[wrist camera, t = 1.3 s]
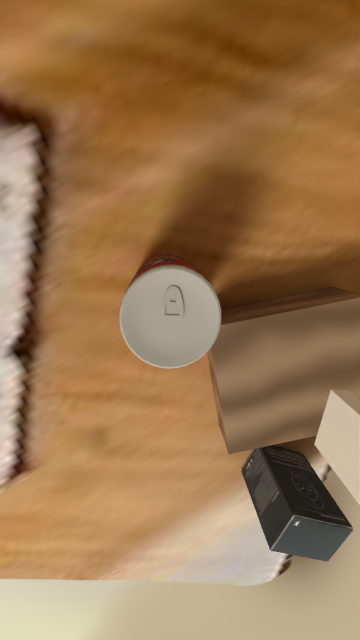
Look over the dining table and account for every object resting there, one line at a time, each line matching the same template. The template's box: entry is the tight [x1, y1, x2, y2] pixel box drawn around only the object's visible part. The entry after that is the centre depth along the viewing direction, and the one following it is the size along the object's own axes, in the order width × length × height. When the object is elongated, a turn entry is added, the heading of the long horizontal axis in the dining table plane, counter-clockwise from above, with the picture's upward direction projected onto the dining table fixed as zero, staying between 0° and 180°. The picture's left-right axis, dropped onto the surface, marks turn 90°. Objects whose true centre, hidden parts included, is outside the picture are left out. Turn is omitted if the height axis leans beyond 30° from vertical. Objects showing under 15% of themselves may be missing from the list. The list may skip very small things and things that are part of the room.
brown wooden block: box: [207, 287, 360, 454], centre depth 31 cm, size 16×16×5 cm
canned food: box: [119, 256, 221, 368], centre depth 25 cm, size 8×8×11 cm
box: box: [242, 445, 353, 561], centre depth 34 cm, size 8×6×11 cm
